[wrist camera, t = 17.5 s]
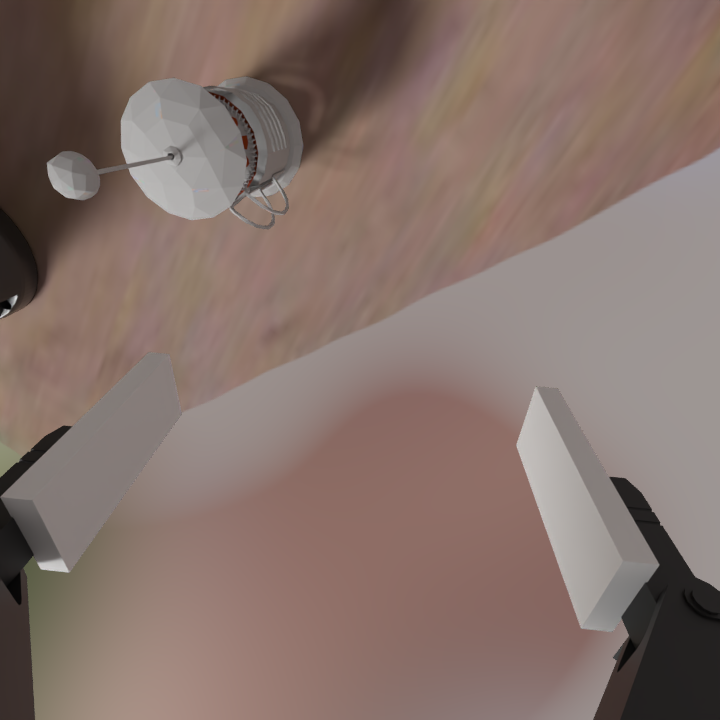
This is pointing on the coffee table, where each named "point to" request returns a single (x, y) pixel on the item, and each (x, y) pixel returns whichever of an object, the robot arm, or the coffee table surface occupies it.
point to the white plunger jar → (198, 148)
